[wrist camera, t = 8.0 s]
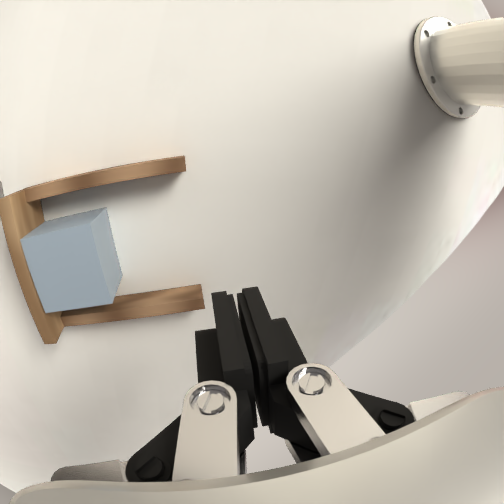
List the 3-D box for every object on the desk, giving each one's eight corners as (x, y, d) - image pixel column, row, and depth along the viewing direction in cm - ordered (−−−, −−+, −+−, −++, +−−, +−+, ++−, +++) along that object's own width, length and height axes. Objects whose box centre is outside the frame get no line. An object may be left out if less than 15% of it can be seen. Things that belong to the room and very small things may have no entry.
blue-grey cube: (106, 207, 22) (90, 223, 18) (122, 274, 24) (112, 303, 20) (45, 221, 21) (20, 239, 16) (64, 284, 23) (45, 313, 19)
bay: (184, 155, 22) (185, 159, 18) (202, 294, 27) (208, 325, 22) (26, 187, 19) (-3, 199, 15) (61, 313, 24) (44, 344, 19)
